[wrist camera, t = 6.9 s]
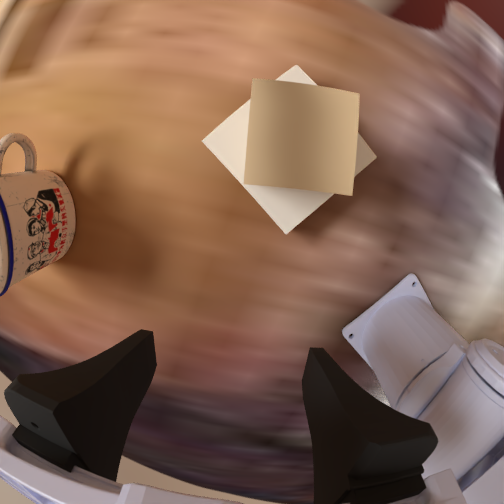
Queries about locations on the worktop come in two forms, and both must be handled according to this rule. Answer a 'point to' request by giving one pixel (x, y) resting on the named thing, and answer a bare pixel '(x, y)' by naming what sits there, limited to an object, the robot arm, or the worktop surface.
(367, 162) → the ceramic plinth
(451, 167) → the worktop surface
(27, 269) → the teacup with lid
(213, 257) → the worktop surface
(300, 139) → the brass cube
